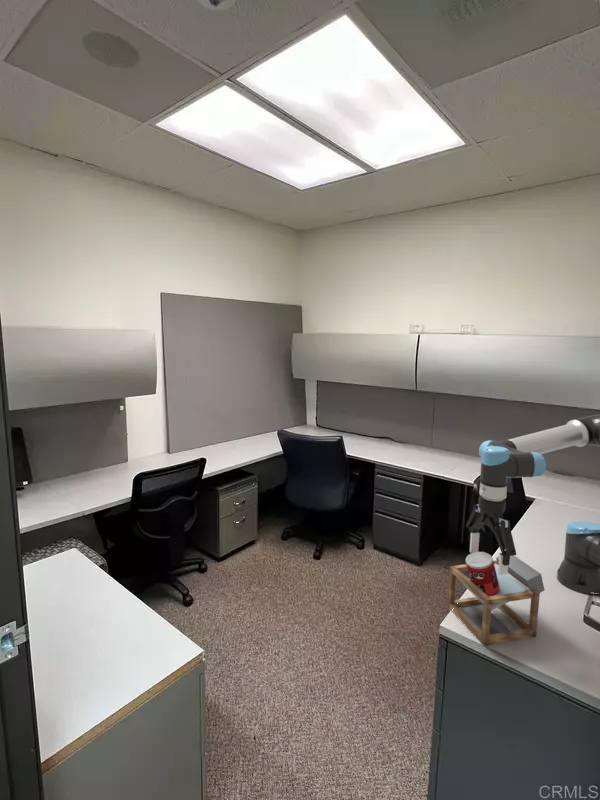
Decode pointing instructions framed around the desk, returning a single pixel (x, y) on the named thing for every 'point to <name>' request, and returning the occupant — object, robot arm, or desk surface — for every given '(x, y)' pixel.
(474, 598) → the frame
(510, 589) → the trapdoor
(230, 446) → the desk surface
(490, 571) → the canned food
